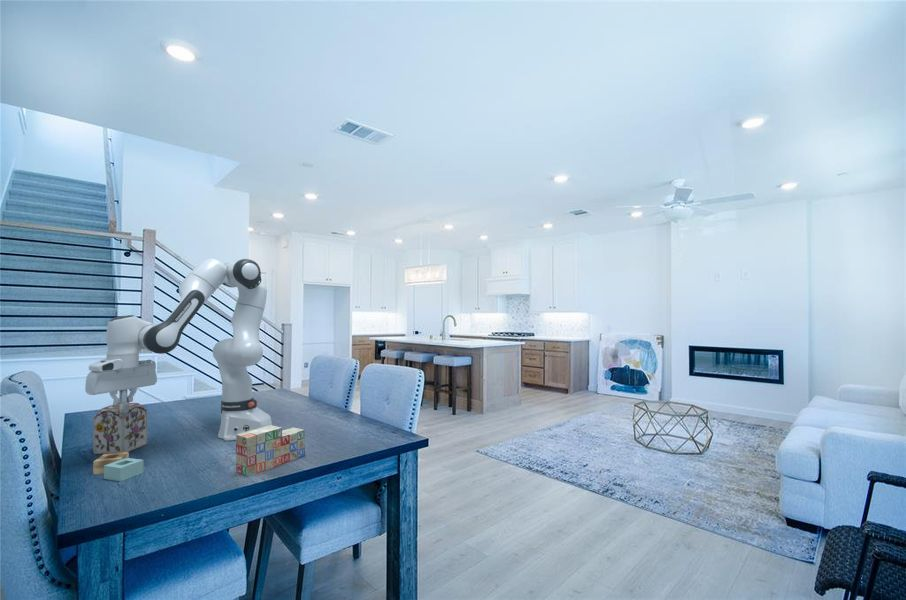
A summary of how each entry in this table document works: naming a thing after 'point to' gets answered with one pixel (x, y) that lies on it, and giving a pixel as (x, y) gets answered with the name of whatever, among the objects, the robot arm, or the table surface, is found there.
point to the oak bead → (107, 461)
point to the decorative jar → (119, 429)
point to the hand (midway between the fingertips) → (123, 402)
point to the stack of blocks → (267, 448)
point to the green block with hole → (123, 469)
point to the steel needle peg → (123, 403)
